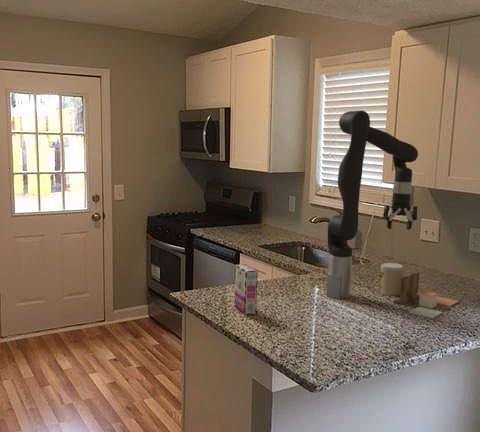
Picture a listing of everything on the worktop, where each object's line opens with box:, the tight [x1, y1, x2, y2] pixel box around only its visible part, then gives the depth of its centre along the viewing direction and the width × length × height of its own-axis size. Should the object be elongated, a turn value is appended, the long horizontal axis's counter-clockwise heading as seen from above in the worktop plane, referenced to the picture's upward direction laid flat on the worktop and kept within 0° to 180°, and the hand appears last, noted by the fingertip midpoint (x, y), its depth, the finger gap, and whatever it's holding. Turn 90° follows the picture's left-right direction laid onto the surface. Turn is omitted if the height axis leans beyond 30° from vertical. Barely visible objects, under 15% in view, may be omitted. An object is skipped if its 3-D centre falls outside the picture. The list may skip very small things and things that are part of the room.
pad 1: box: [408, 306, 443, 319], centre depth 196 cm, size 9×9×1 cm
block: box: [418, 290, 438, 309], centre depth 205 cm, size 5×5×5 cm
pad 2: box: [437, 295, 460, 308], centre depth 210 cm, size 9×9×1 cm
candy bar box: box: [233, 264, 259, 316], centre depth 193 cm, size 11×5×16 cm, turn 21°
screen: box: [392, 270, 420, 306], centre depth 211 cm, size 14×4×11 cm, turn 137°
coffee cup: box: [380, 262, 404, 296], centre depth 221 cm, size 9×9×12 cm
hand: (398, 229), depth 227 cm, fingers open, 8 cm apart
